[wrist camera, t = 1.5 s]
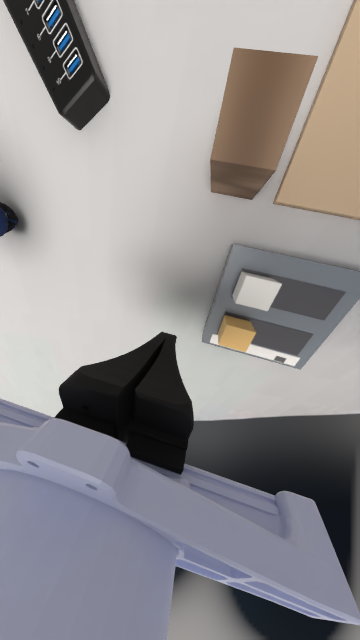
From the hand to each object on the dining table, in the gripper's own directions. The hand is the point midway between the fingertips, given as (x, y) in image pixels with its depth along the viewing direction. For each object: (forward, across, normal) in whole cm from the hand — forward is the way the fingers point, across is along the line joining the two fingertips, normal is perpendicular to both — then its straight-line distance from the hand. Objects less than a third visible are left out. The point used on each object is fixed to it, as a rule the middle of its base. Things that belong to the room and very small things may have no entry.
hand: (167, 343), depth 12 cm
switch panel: (+9, -10, -2) cm, 14 cm away
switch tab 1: (+6, -7, 0) cm, 9 cm away
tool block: (+9, -2, -14) cm, 17 cm away
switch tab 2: (+6, -7, -5) cm, 10 cm away
